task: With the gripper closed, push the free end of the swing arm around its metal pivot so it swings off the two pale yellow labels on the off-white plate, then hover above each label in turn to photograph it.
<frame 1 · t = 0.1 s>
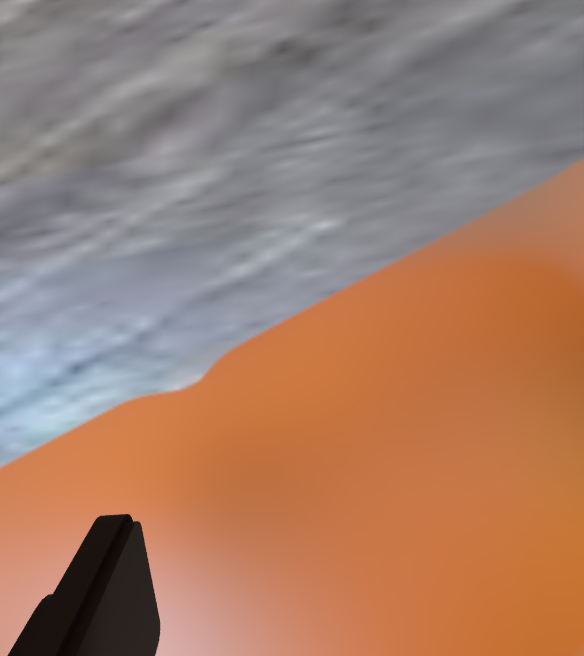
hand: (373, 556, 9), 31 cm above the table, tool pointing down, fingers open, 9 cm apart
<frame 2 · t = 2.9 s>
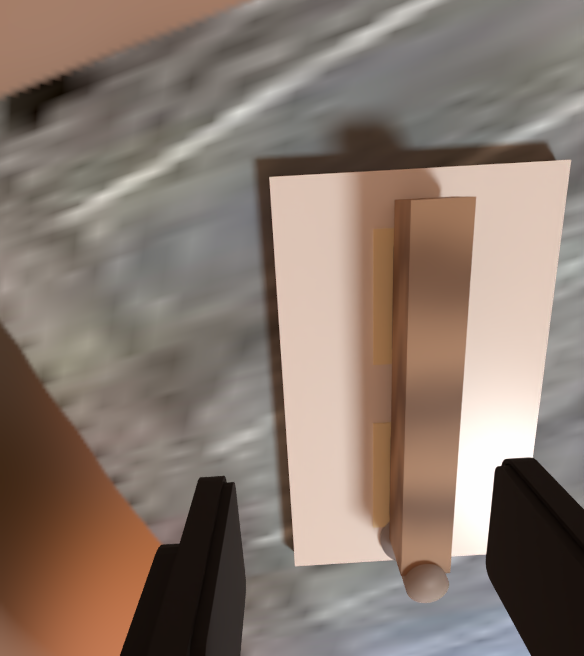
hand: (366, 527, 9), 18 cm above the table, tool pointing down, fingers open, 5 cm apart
swing arm: (424, 416, 24), point 4 cm above the table, hinge at 0.0°
label plate: (407, 383, 28), on the table
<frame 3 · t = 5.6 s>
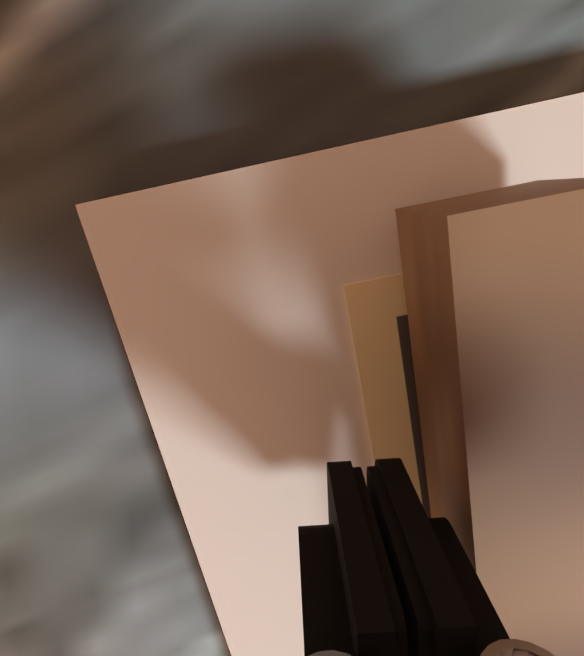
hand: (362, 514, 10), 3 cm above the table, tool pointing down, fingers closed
label plate: (464, 554, 14), on the table
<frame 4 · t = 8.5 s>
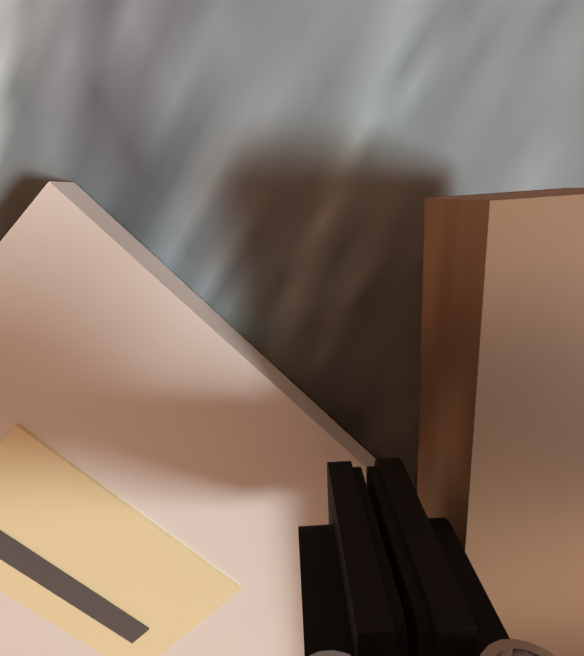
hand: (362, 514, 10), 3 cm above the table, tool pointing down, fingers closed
label plate: (237, 626, 15), on the table
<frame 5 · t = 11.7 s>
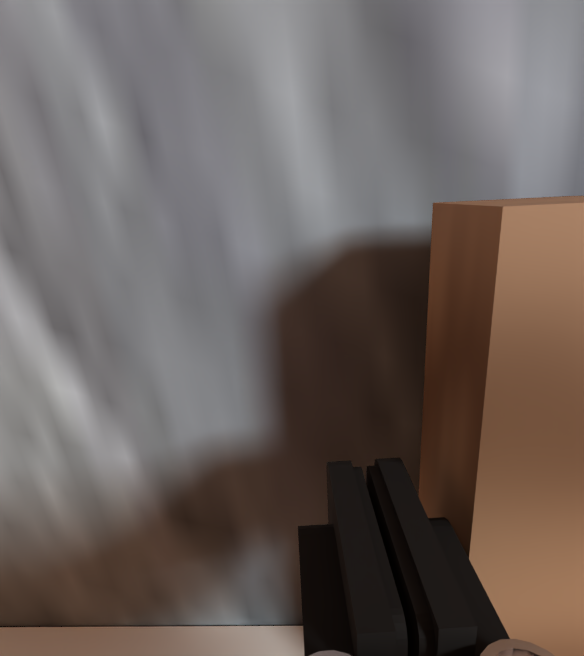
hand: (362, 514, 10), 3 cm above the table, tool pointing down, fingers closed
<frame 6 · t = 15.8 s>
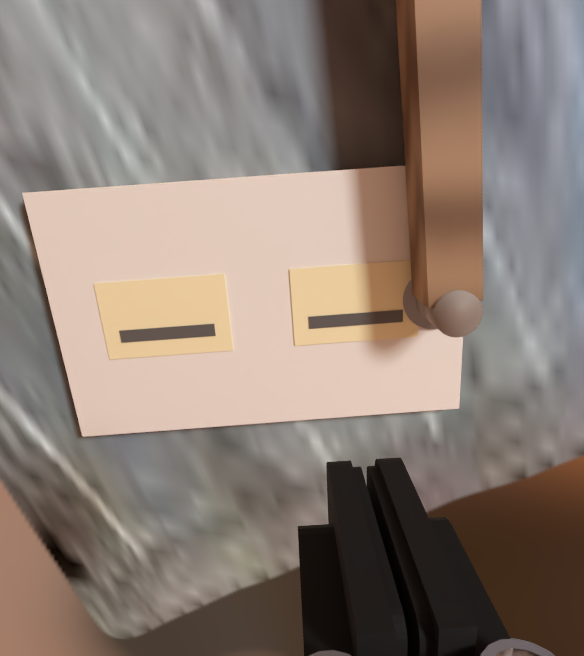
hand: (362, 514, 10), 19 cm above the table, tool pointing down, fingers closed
swing arm: (440, 107, 22), point 4 cm above the table, hinge at 85.9°
label plate: (261, 305, 28), on the table
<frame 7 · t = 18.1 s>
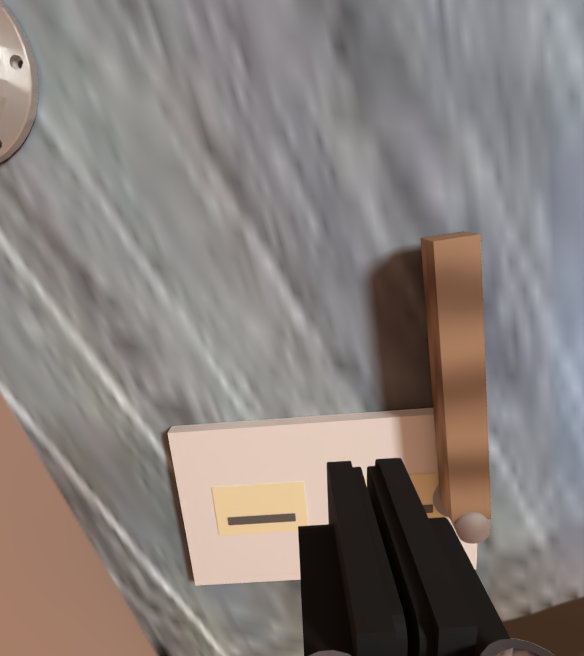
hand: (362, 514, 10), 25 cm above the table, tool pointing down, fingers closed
swing arm: (459, 396, 32), point 4 cm above the table, hinge at 85.9°
label plate: (327, 495, 39), on the table
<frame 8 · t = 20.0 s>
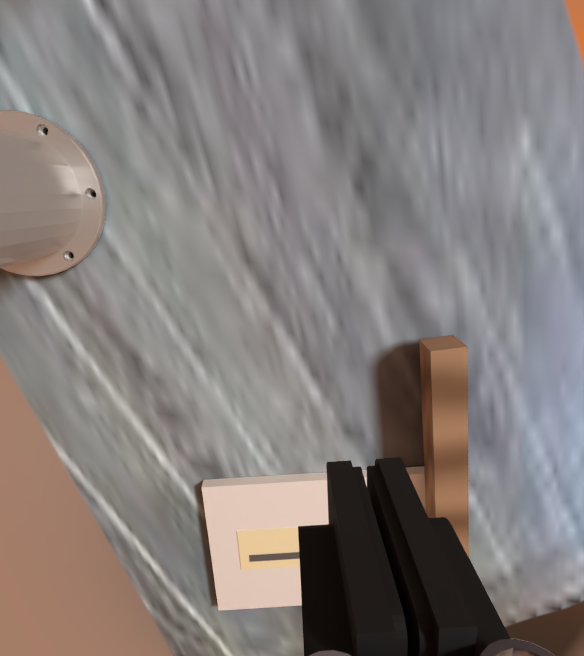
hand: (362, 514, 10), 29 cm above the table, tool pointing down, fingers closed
swing arm: (446, 464, 39), point 4 cm above the table, hinge at 85.9°
label plate: (333, 535, 46), on the table
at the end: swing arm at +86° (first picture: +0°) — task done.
